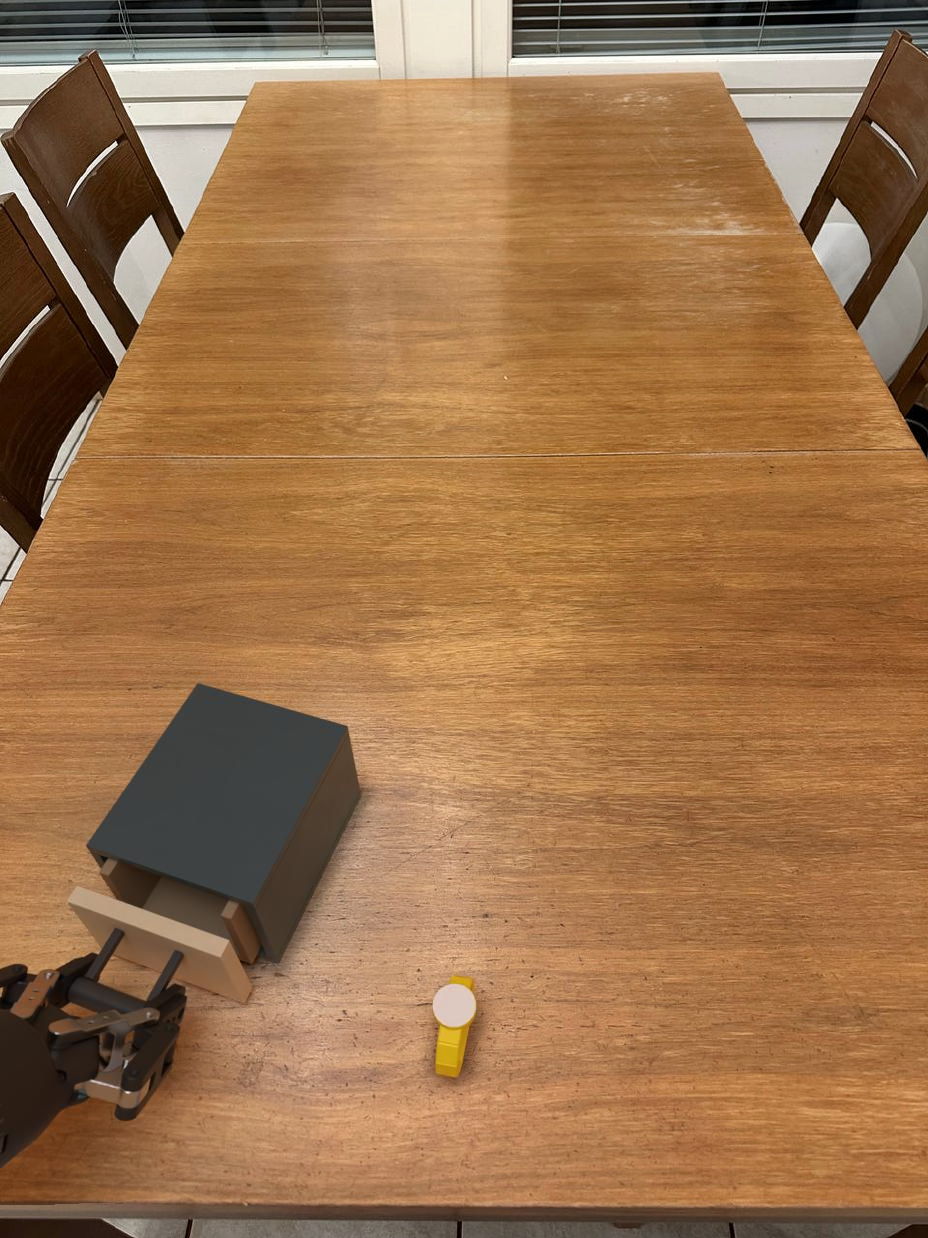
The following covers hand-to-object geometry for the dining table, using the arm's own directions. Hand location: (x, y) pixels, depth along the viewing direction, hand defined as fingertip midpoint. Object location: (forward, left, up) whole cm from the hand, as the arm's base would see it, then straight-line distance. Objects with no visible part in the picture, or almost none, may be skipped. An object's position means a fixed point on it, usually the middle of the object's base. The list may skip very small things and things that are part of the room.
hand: (137, 983), depth 61 cm
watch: (+20, +5, -5) cm, 21 cm away
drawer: (0, +6, -4) cm, 8 cm away
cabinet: (0, +13, -5) cm, 14 cm away
